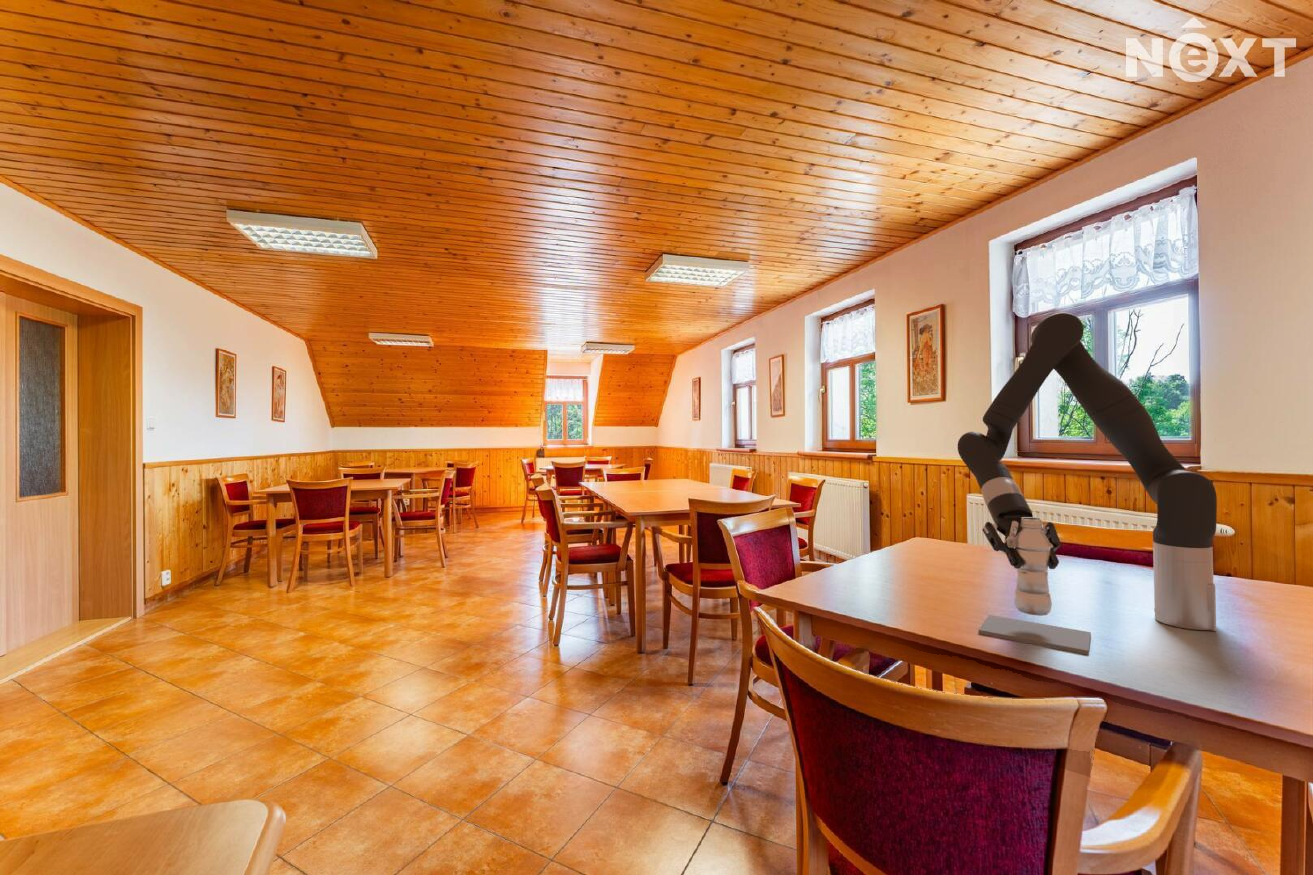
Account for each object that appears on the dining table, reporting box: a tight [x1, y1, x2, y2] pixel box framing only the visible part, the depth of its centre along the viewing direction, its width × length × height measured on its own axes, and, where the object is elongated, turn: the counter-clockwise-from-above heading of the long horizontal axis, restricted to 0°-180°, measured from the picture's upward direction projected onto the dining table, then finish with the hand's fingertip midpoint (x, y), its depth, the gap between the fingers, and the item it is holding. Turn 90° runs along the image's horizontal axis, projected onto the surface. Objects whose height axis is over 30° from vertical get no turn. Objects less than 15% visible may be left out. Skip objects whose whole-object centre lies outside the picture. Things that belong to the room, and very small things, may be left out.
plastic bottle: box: [1013, 516, 1053, 616], centre depth 111 cm, size 6×7×20 cm
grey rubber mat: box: [978, 614, 1092, 656], centre depth 111 cm, size 18×12×1 cm, turn 49°
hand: (1036, 566), depth 109 cm, fingers closed on plastic bottle, 6 cm apart
